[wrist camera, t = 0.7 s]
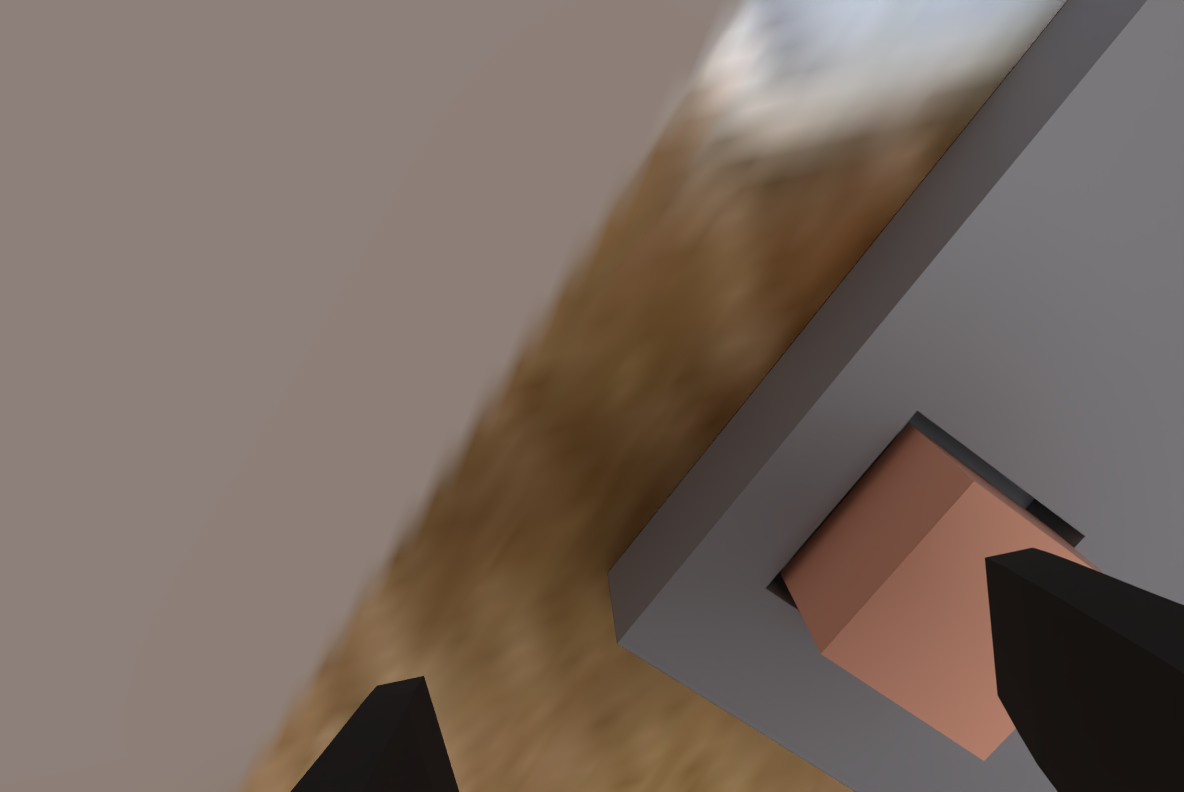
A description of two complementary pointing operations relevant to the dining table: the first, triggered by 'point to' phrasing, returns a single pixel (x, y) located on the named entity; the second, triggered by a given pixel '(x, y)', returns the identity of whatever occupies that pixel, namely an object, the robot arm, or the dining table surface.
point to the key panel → (956, 397)
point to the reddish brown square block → (918, 586)
